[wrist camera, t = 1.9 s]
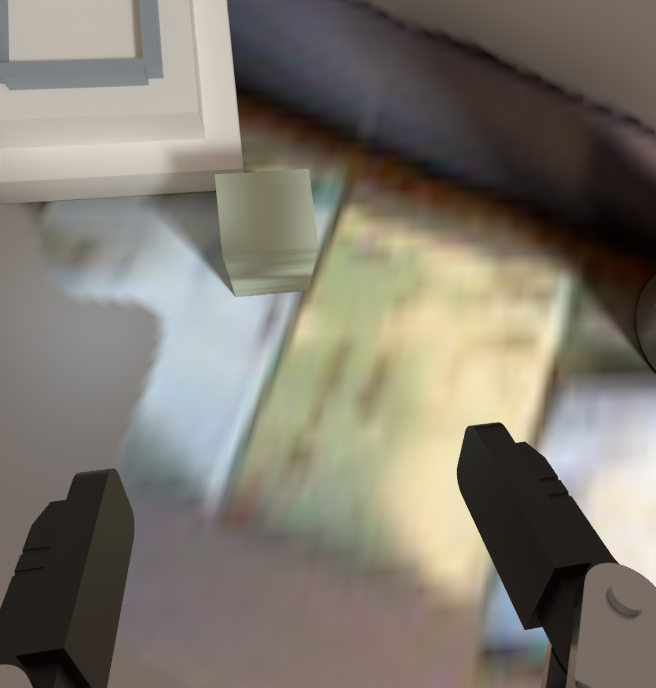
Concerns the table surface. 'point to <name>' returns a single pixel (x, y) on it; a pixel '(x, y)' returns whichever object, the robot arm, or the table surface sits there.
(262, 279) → the block
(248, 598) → the table surface
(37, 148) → the plinth
